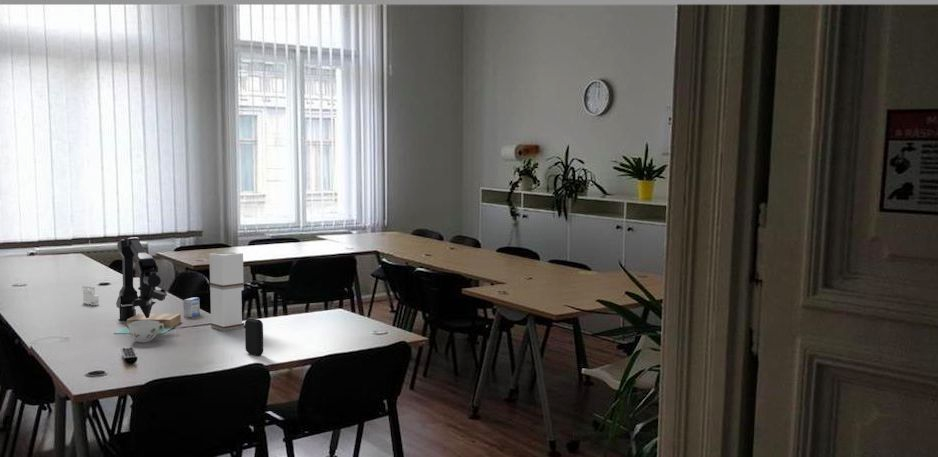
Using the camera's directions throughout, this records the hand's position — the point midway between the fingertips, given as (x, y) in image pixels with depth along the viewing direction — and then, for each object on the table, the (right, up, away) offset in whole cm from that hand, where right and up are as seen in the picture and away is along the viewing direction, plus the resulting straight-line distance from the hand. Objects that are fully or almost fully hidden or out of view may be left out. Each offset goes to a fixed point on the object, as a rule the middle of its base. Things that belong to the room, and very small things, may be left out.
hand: (147, 317), depth 366 cm
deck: (0, -4, +9) cm, 10 cm away
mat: (0, -5, -4) cm, 7 cm away
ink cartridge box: (-55, 0, +60) cm, 82 cm away
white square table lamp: (+36, -5, +4) cm, 36 cm away
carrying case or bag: (+62, -10, -46) cm, 78 cm away
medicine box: (+9, -3, +32) cm, 33 cm away
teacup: (+9, -7, -23) cm, 26 cm away
